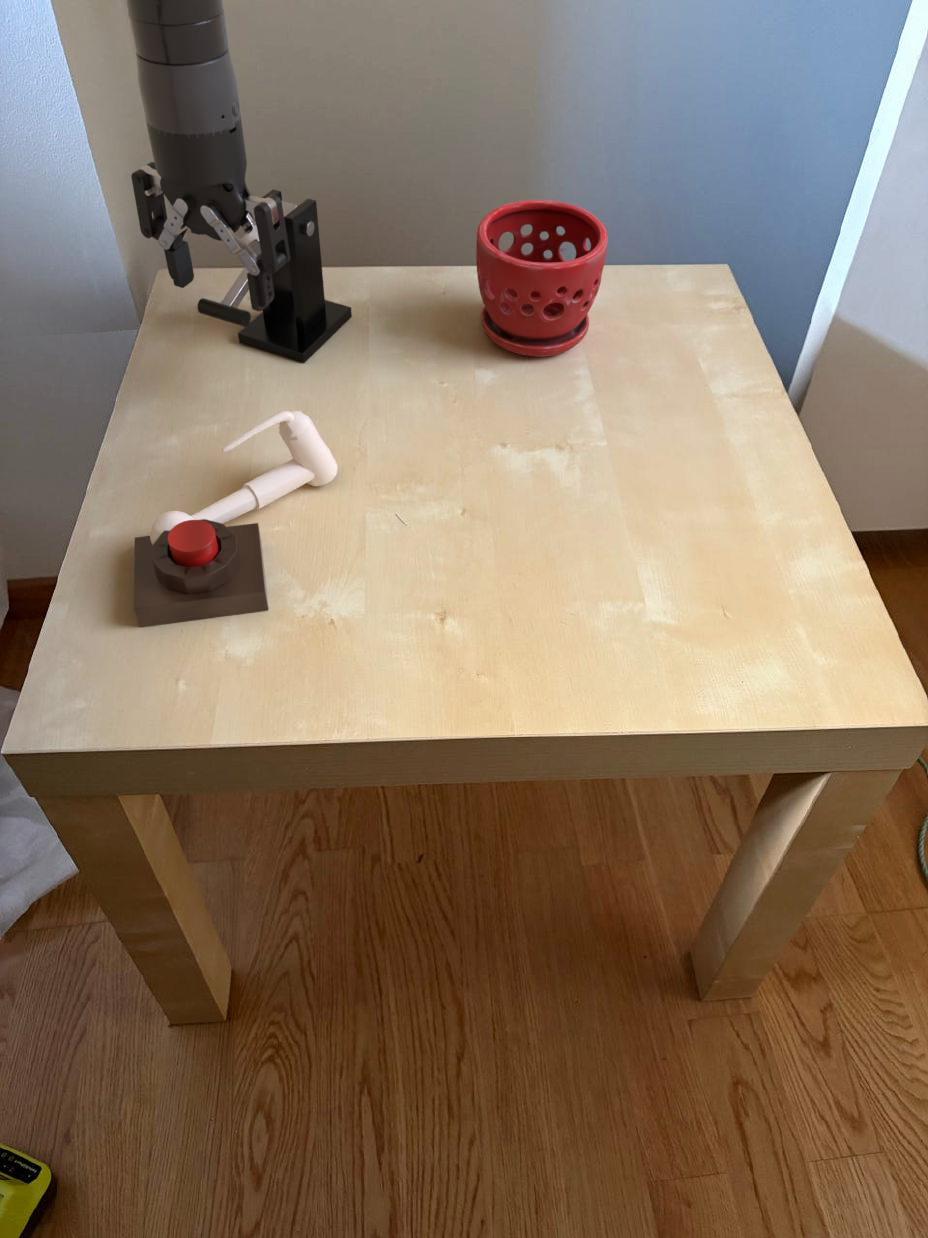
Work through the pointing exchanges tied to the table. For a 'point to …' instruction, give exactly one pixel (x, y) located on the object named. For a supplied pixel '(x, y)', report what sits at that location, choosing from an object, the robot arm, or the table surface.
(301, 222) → the bracket
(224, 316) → the lever
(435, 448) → the table surface
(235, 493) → the faucet
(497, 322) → the flower pot
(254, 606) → the button block
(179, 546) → the button
